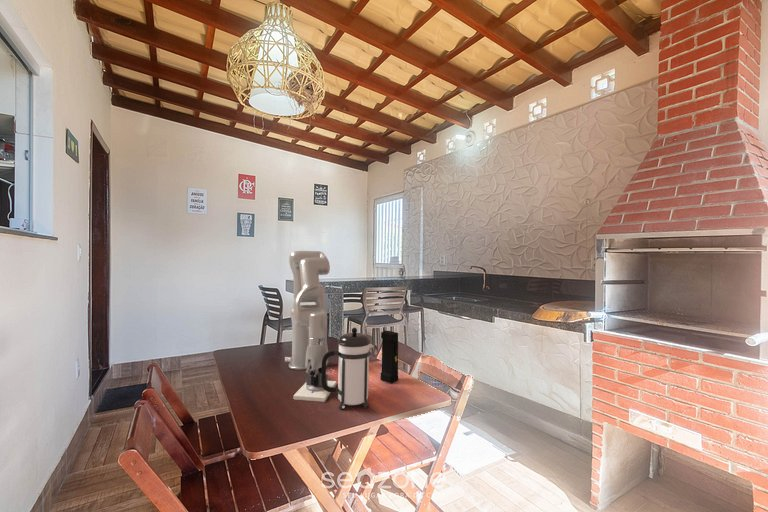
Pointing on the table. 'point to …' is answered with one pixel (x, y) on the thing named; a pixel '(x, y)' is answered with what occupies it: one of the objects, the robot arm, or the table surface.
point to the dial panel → (313, 393)
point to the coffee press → (350, 369)
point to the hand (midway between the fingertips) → (317, 383)
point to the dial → (319, 386)
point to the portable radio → (389, 356)
